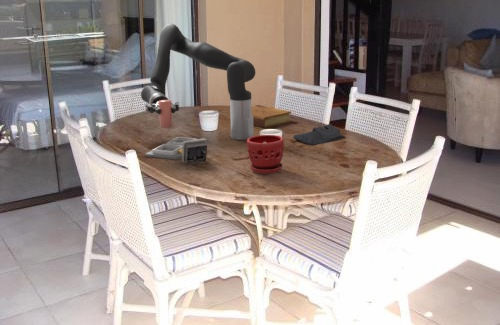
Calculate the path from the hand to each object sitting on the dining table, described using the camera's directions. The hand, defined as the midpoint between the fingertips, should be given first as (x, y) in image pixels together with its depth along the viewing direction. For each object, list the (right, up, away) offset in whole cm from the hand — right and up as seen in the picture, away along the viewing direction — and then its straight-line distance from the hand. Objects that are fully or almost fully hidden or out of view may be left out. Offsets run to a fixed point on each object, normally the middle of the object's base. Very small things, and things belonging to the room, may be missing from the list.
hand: (166, 111), depth 221 cm
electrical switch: (+12, -20, -4) cm, 24 cm away
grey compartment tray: (+2, -15, +13) cm, 20 cm away
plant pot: (+38, -23, -14) cm, 47 cm away
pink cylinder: (-1, -5, +4) cm, 7 cm away
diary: (+38, 0, +60) cm, 71 cm away
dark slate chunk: (+62, -10, +27) cm, 68 cm away
